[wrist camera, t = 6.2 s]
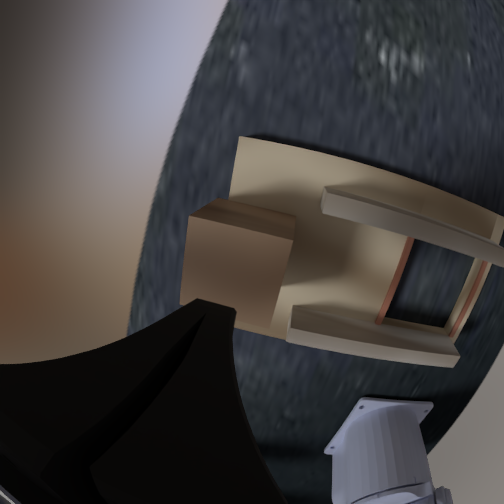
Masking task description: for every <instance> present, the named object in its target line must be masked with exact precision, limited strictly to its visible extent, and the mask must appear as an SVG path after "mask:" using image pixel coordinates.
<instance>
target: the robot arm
mask: <svg viewBox="0 0 504 504" xmlns="http://www.w3.org/2000/svg"><path fill="white" fill-rule="evenodd" d="M236 314H237V311H236V310H235V308H232V307H229V306H225V305H221V304H217V303H214V302H210V301H206V300H203V299H199V298H196V299H195V300H193V301H191V302H189V303H188V304H186V305H184V306H183V307H181V308H179V309H178V310H176V311H174V312H173V313H171V314H169V315H168V316H166V317H164V318H162V319H161V320H159V321H157V322H155V323H154V324H152V325H150V326H148V327H146V328H144V329H142V330H140V331H138V332H136V333H134V334H132V335H130V336H128V337H125V338H123V339H121V340H118V341H116V342H113V343H111V344H108V345H105V346H102V347H100V348H97V349H93V350H90V351H87V352H83V353H79V354H75V355H71V356H67V357H63V358H58V359H53V360H47V361H41V362H32V363H23V364H0V490H1V491H2V492H3V493H4V494H5V495H6V496H7V497H8V498H9V499H11V500H12V501H13V502H14V503H15V504H288V502H287V500H286V498H285V497H284V495H283V493H282V492H281V490H280V489H279V487H278V485H277V483H276V482H275V480H274V478H273V476H272V474H271V473H270V471H269V469H268V467H267V465H266V463H265V461H264V459H263V457H262V454H261V452H260V450H259V448H258V445H257V443H256V440H255V438H254V435H253V433H252V430H251V428H250V425H249V422H248V420H247V417H246V413H245V410H244V407H243V404H242V400H241V396H240V392H239V388H238V383H237V378H236V372H235V365H234V357H233V341H232V335H233V330H234V325H235V319H236ZM362 405H363V406H362ZM433 407H434V405H433V402H423V401H404V400H391V399H380V398H370V397H363V398H361V399H360V400H359V401H358V402H357V404H356V405H355V407H354V408H353V410H352V411H351V413H350V414H349V416H348V417H347V419H346V420H345V422H344V423H343V425H342V426H341V427H340V429H339V430H338V432H337V433H336V434H335V436H334V437H333V438H332V440H331V441H330V442H329V444H328V445H327V446H326V448H325V449H324V453H326V454H332V455H333V468H332V501H333V504H453V501H452V496H451V492H450V490H449V489H447V488H444V487H443V486H441V487H439V488H437V489H436V490H435V488H434V486H433V483H432V478H431V473H430V468H429V464H428V459H427V455H426V451H425V446H424V442H423V438H422V434H421V430H420V427H419V424H420V423H421V421H422V420H423V419H424V418H425V417H426V416H427V414H428V413H429V412H430V411H431V409H432V408H433ZM0 504H11V503H10V502H9V501H8V500H6V499H5V498H4V497H2V496H1V495H0Z"/></svg>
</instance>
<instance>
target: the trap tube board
mask: <svg viewBox="0 0 504 504" xmlns="http://www.w3.org/2000/svg"><path fill="white" fill-rule="evenodd" d="M229 200H230V201H235V202H239V203H244V204H248V205H253V206H257V207H261V208H265V209H270V210H274V211H278V212H282V213H286V214H290V215H294V216H296V222H295V231H294V239H293V244H292V248H291V252H290V255H289V259H288V263H287V267H286V270H285V274H284V278H283V282H282V285H281V289H280V293H279V296H278V300H277V303H276V307H275V310H274V314H273V318H272V321H271V324H270V328H269V329H267V328H263V327H259V326H255V325H251V324H248V323H244V322H240V321H236V320H235V325H234V327H235V328H239V329H243V330H247V331H251V332H255V333H259V334H263V335H267V336H271V337H276V338H280V339H285V340H286V342H290V343H295V344H300V345H305V346H309V347H314V348H319V349H325V350H330V351H335V352H341V353H346V354H352V355H358V356H364V357H370V358H377V359H383V360H390V361H398V362H405V363H413V364H422V365H431V366H441V367H452V368H453V367H454V366H455V364H456V363H457V361H458V359H459V358H460V355H459V353H458V351H457V349H456V348H455V346H454V342H455V341H456V339H457V337H458V335H459V333H460V332H461V330H462V328H463V326H464V324H465V322H466V320H467V318H468V316H469V314H470V312H471V310H472V308H473V306H474V304H475V302H476V300H477V298H478V296H479V293H480V291H481V289H482V287H483V284H484V282H485V280H486V277H487V275H488V272H489V270H490V267H491V265H492V264H495V265H498V266H501V267H504V248H503V247H501V246H500V245H499V242H500V239H501V236H502V233H503V230H504V217H502V216H500V215H498V214H496V213H494V212H492V211H490V210H488V209H485V208H483V207H481V206H479V205H476V204H474V203H472V202H469V201H467V200H465V199H462V198H460V197H458V196H455V195H453V194H450V193H448V192H445V191H443V190H440V189H437V188H435V187H432V186H429V185H427V184H424V183H421V182H418V181H415V180H413V179H410V178H407V177H404V176H401V175H398V174H395V173H392V172H389V171H385V170H382V169H379V168H376V167H372V166H369V165H366V164H362V163H359V162H355V161H352V160H348V159H344V158H340V157H337V156H333V155H329V154H325V153H321V152H316V151H312V150H308V149H304V148H299V147H294V146H290V145H285V144H280V143H275V142H270V141H265V140H259V139H254V138H248V137H242V136H240V137H239V142H238V148H237V153H236V159H235V164H234V170H233V176H232V182H231V188H230V194H229ZM414 239H419V240H422V241H425V242H428V243H432V244H435V245H438V246H441V247H445V248H448V249H451V250H454V251H457V252H460V253H463V254H466V255H469V256H472V257H475V259H474V262H473V264H472V267H471V270H470V272H469V275H468V277H467V279H466V282H465V284H464V286H463V289H462V291H461V293H460V295H459V298H458V300H457V302H456V304H455V306H454V308H453V310H452V312H451V314H450V316H449V318H448V320H447V322H446V324H445V326H444V328H440V327H435V326H429V325H424V324H418V323H413V322H408V321H402V320H397V319H392V318H387V317H384V316H385V314H386V312H387V309H388V307H389V305H390V302H391V300H392V298H393V295H394V293H395V290H396V288H397V285H398V283H399V280H400V278H401V275H402V273H403V270H404V267H405V265H406V262H407V259H408V256H409V253H410V251H411V248H412V245H413V242H414Z"/></svg>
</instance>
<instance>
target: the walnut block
mask: <svg viewBox="0 0 504 504" xmlns="http://www.w3.org/2000/svg"><path fill="white" fill-rule="evenodd" d="M295 222H296V216H294V215H290V214H286V213H282V212H278V211H274V210H270V209H265V208H261V207H257V206H253V205H248V204H244V203H239V202H235V201H230V200H226V199H221V198H217V199H216V200H214V201H212V202H211V203H209V204H207V205H206V206H204V207H202V208H201V209H199V210H197V211H196V212H194V213H193V214H191V215H189V221H188V228H187V236H186V245H185V253H184V263H183V272H182V283H181V294H180V304H181V305H186V304H188V303H189V302H191V301H193V300H195V299H196V298H199V299H203V300H206V301H210V302H214V303H217V304H221V305H225V306H229V307H232V308H235V310H236V311H237V314H236V319H235V320H236V321H240V322H244V323H248V324H251V325H255V326H259V327H263V328H267V329H269V328H270V324H271V321H272V318H273V314H274V310H275V307H276V303H277V300H278V296H279V293H280V289H281V285H282V282H283V278H284V274H285V270H286V267H287V263H288V259H289V255H290V252H291V248H292V244H293V239H294V231H295Z"/></svg>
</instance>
